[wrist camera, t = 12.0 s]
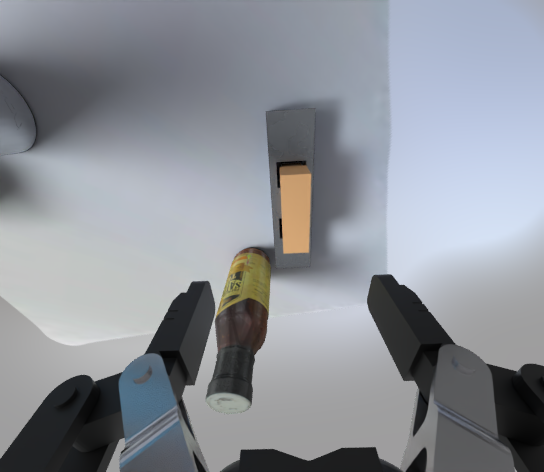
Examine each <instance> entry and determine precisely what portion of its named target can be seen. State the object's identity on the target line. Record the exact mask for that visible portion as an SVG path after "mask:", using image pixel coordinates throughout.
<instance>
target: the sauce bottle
mask: <svg viewBox="0 0 544 472" xmlns="http://www.w3.org/2000/svg"><path fill="white" fill-rule="evenodd" d="M270 276H271V267H270V261H269V257H268V256H267V255H266V254H265V253H264V252H263V251H261V250H259V249H255V248H247V249H244V250H242V251H240V252H239V253H238V254H237V255H236V256H235V258H234V260H233V262H232V265H231V268H230V271H229V275H228V278H227V281H226V285H225V288H224V291H223V295H222V298H221V302H220V305H219V308H218V312H217V315H216V319H215V327H216V337H217V347H218V354H217V361H216V366H215V370H214V374H213V378H212V380H211V382H210V383H209V385H208V390H207V395H206V404H207V405H208V406H209V407H210V408H211V409H213V410H215V411H217V412H221V413H227V414H234V413H242V412H245V411H247V410H248V409H249V408H250V406H251V404H252V392H253V388H252V384H251V383H252V373H253V365H254V361H255V358H254V355H255V354H256V352H257V351H258V350H259V349H260V348H261V346H262V345H263V343H264V341H265V338H266V333H267V320H268V315H269V296H270Z"/></svg>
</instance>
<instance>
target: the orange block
mask: <svg viewBox="0 0 544 472" xmlns="http://www.w3.org/2000/svg"><path fill="white" fill-rule="evenodd" d="M280 186H281V211H282V235H283V253H284V254H285V253H309V234H310V200H311V172H310V171H309V169H308V167H307V166H306V165H302V164H301V163H285V164H282V167H280Z"/></svg>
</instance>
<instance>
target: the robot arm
mask: <svg viewBox="0 0 544 472" xmlns="http://www.w3.org/2000/svg"><path fill="white" fill-rule="evenodd" d="M35 137H36V126H35V122H34V118H33V116H32V113H31V111H30V109H29V107H28V105H27V104H26V102H25V101H24V99H23V98H22V96H21V95H20V94H19V93H18V92H17V90H16V89H15V88H14V87H13V86H12V85H11V84H10V83H9V82H8V81H7V80H5V79H4V78H3V77H1V76H0V156H1V155H8V154H14V153H21V152H24V151H26V150H28V149H29V148H30V147H31V146H32V145H33V143H34V142H35ZM367 304H368V308H369V311H370V313H371V315H372V317H373V319H374V321H375V323H376V325H377V327H378V329H379V331H380V333H381V335H382V338H383V340H384V342H385V344H386V346H387V348H388V350H389V352H390V354H391V356H392V358H393V360H394V362H395V364H396V366H397V368H398V370H399V372H400V374H401V376H402V378H403V380H404V381H415V382H416V384H417V386H418V389H417V392H416V398H415V404H414V410H413V416H412V422H411V428H410V434H409V439H408V444H407V446H406V449H405V452H404V456H403V459H402V463H401V468H400V469H399V468H397V467H395V466H394V465H392V464H390V463H388V462H386V461H384V460H382V459H379V457H378V454H377V451H376V448H375V447H368V448H341V449H338V450H336V451H334V452H331V453H329V454H326V455H324V456H321V457H319V458H316V459H314V460H311V461H307V460H303V459H300V458H298V457H294V456H292V455H289V454H286V453H283V452H280V451H277V450H274V449H260V450H259V449H257V450H256V449H255V450H241V453H240V460H238V461H236V462H234V463H232V464H230V465H229V466H227V467H226V468H224V469H223V470H222V471H220V472H515V469H516V470H517V472H544V366H541V365H537V364H525V365H523V366H522V367H521V368H520V369H519V370H518V372H517V371H513V370H509V369H505V368H501V367H497V366H493V365H489V364H486V363H485V362H484V361H483V360H482V359H481V358H480V357H479V356H477V355H476V354H474V353H473V352H471V351H470V350H468V349H466V348H463V347H461V346H458V345H456V344H455V343H454V342H453V340H452V339H451V338H450V337H449V336H448V334H447V333H446V332H445V330H444V329H443V328H442V327H441V325H440V324H439V323H438V322H437V321H436V319H435V318H434V316H433V315H432V314H431V313H430V312H429V311H428V309H427V308H426V306H425V305H424V304H422V302H421V300H420V299H419V298H418V296H417V295H416V294H415V293H414V292H413V291H412V290H410V289H409V288H407V287H406V286H405V285H399V284H398V282H397V281H396V280H395V278H394V277H393V276H392V275H390V274H387V275H374V276H373V277H372V280H371V284H370V289H369V293H368V298H367ZM214 315H215V302H214V298H213V294H212V290H211V286H210V283H209V281H195V282H192V283H191V285H190V287H189V289H188V291H187V293H181V294H180V295H178V296H177V297H176V298H175V299H174V300H173V302H172V304H171V305H170V307H169V309H168V312H167V313H166V315H165V317H164V320H163V321H162V322H161V324H160V326H159V328H158V330H157V332H156V334H155V336H154V338H153V339H152V341H151V344H150V345H149V347H148V349H147V351H146V353H145V354H144V355H142V356H140V357H138V358H137V359H135V360H134V361H132V362H131V363H130V364H129V365H128V366H127V367H126V368H125V370H124V371H123V372H121V373H119V374H116V375H113V376H110V377H107V378H104V379H101V380H98V381H95V382H94V381H93V380H92V378H91V377H90V376H87V375H79V376H75V377H73V378H70V379H69V380H66V381H65V382H63V383H62V384H60V385H59V386H58V387H56V388H55V389H54V390H53V391H52V392H51V393H50V394H49V395H48V396H47V397H46V398H45V400H44V401H43V403H42V404H41V405H40V406H39V408H38V409H37V411H36V412H35V413H34V415H33V416H32V418H31V419H30V420H29V421H28V423H27V424H26V425H25V427H24V428H23V429H22V431H21V432H20V433H19V435H18V436H17V438H16V439H15V440H14V441H13V443H12V444H11V445H10V447H9V448H8V450H7V451H6V452H5V454H4V455H3V456H2V458H1V459H0V472H106V470H107V468H108V465H109V463H110V460H111V458H112V456H113V453H114V451H115V449H116V446H117V444H118V442H119V440H120V439H122V438H125V449H124V450H123V451H122V452H121V455H120V472H209V470H208V467H207V464H206V462H205V459H204V456H203V454H202V452H201V449H200V447H199V444H198V442H197V439H196V436H195V433H194V430H193V427H192V424H191V421H190V418H189V416H188V413H187V410H186V407H185V404H184V401H183V398H182V394H183V391H184V388H185V385H195V381H196V378H197V374H198V371H199V367H200V364H201V360H202V356H203V353H204V350H205V346H206V342H207V339H208V336H209V332H210V329H211V325H212V322H213V318H214ZM514 467H515V469H514Z"/></svg>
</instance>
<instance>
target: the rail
mask: <svg viewBox="0 0 544 472" xmlns="http://www.w3.org/2000/svg"><path fill="white" fill-rule="evenodd" d="M266 122H267V138H268V153H269V169H270V184H271V200H272V215H273V230H274V246H275V261H276V268H296V267H310V256H311V226H312V196H313V165H314V135H315V108H308V109H294V110H280V111H266ZM286 161H303V165H306V166H307V167H308V169H309V171H310V172H311V200H310V234H309V253H285V254H284V253H283V235H282V227H280V226H279V219H280V218H282V211H281V186H280V180H277V165H276V162H286Z"/></svg>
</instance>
